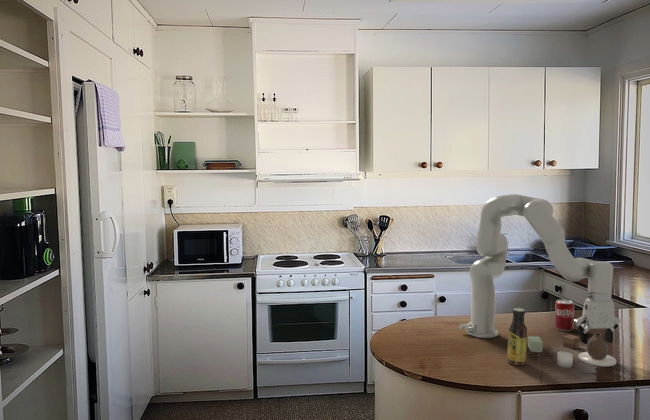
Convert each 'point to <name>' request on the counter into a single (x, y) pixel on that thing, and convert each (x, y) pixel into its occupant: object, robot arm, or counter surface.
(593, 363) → the disc
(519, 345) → the sauce bottle
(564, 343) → the walnut block
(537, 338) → the sage block
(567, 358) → the plastic tub
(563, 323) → the soda can
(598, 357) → the vase
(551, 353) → the counter surface
